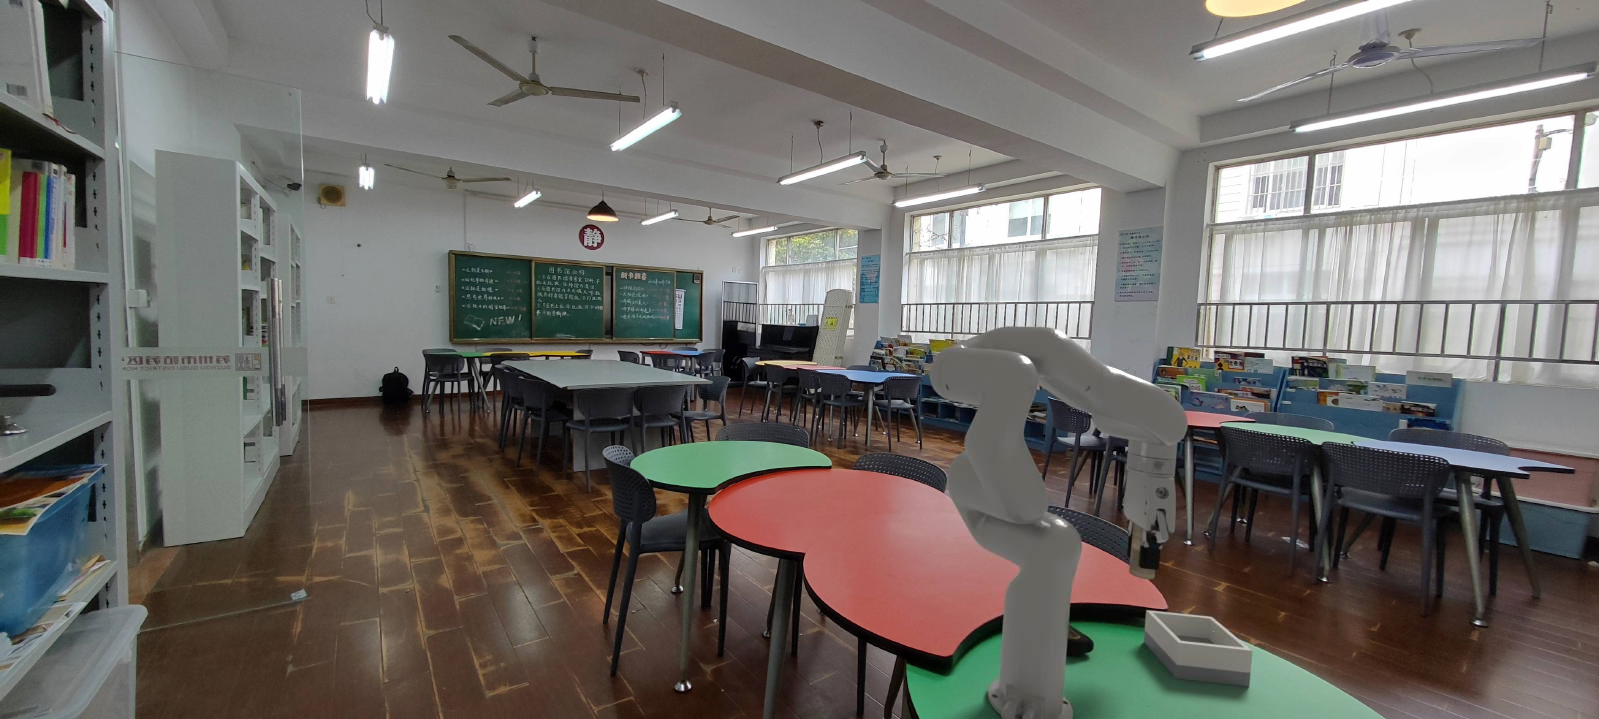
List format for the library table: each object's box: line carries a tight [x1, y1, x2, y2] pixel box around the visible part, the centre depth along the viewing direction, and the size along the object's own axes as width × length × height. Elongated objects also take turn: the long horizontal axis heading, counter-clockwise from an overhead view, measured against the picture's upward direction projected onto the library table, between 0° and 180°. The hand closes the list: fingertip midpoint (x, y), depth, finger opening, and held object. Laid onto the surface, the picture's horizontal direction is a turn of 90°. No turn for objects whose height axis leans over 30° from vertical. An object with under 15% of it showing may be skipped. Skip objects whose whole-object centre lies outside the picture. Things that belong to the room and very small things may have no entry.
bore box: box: [1143, 609, 1253, 688], centre depth 106 cm, size 12×12×6 cm
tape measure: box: [1066, 624, 1095, 657], centre depth 109 cm, size 7×7×4 cm
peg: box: [1128, 523, 1156, 580], centre depth 104 cm, size 4×4×10 cm
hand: (1142, 562), depth 105 cm, fingers closed on peg, 4 cm apart
